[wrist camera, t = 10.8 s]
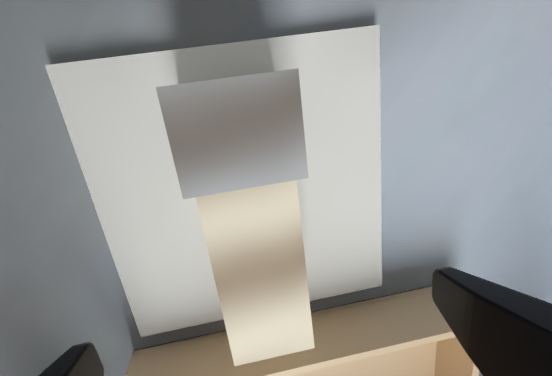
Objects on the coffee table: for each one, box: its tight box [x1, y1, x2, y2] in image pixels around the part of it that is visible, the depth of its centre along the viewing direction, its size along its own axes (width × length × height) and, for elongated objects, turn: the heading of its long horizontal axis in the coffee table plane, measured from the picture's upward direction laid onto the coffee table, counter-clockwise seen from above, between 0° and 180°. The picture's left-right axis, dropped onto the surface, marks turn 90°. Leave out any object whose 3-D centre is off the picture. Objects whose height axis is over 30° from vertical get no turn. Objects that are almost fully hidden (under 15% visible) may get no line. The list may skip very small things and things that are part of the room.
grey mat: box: [45, 25, 382, 337], centre depth 18 cm, size 16×16×1 cm
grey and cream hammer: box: [156, 68, 315, 366], centre depth 15 cm, size 13×5×5 cm, turn 7°
